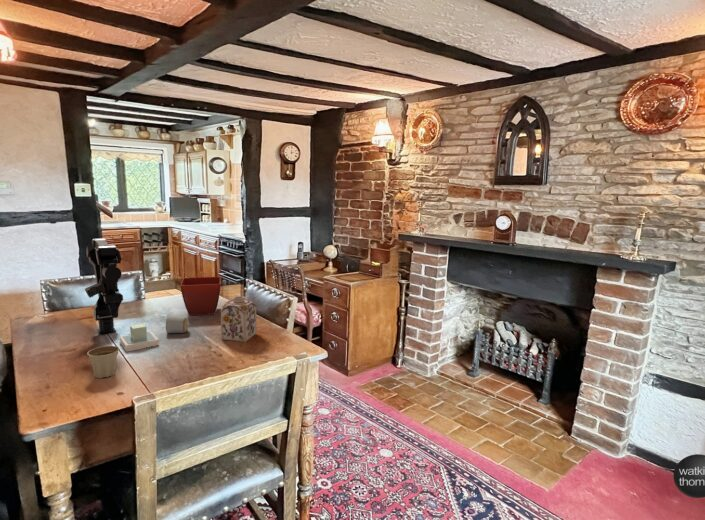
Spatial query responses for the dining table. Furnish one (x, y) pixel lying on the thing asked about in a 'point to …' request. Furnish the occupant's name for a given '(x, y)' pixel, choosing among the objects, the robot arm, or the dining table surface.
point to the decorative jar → (238, 320)
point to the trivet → (138, 342)
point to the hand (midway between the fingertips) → (111, 313)
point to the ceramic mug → (176, 324)
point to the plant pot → (201, 294)
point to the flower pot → (103, 360)
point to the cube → (138, 331)
